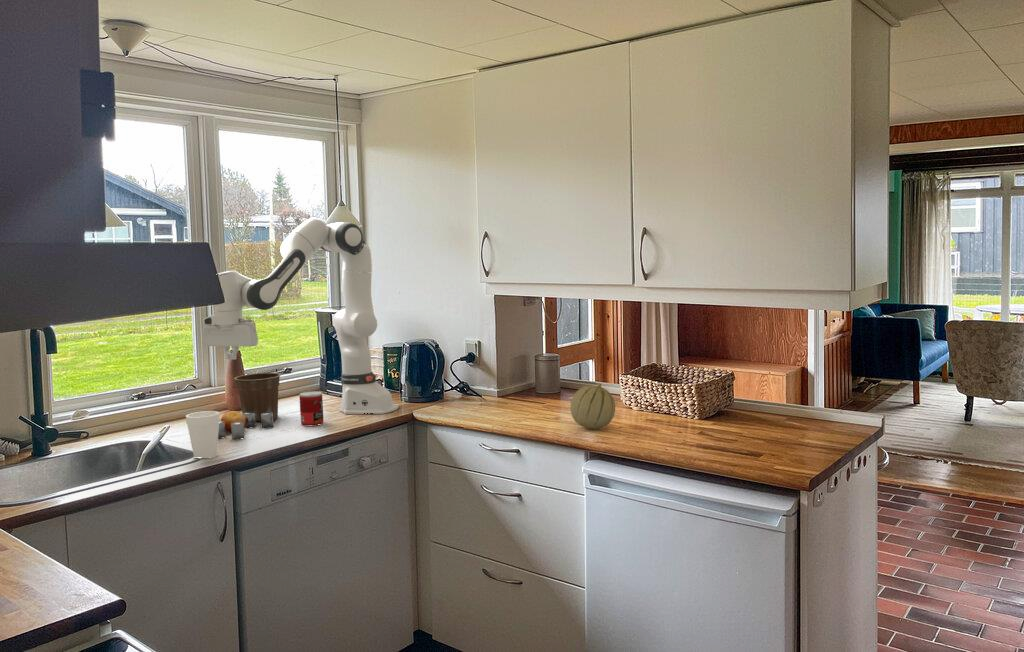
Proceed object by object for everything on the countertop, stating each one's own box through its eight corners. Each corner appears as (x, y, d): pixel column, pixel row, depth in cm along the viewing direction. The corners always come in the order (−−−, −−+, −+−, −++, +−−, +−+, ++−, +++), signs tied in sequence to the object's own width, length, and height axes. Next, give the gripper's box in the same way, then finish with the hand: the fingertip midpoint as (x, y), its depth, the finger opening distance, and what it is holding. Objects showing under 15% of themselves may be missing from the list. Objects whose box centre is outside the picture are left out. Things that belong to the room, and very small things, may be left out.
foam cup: (182, 460, 233) (179, 417, 232) (199, 452, 242) (196, 410, 241) (211, 460, 231) (209, 417, 230) (227, 452, 241) (225, 411, 239)
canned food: (318, 426, 273) (316, 395, 272) (296, 426, 275) (295, 395, 274) (327, 421, 281) (325, 391, 279) (306, 421, 282) (305, 391, 281)
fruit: (234, 423, 276) (239, 405, 272) (246, 437, 272) (251, 419, 269) (213, 427, 270) (218, 409, 266) (224, 441, 266) (230, 423, 262)
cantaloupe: (561, 429, 259) (560, 384, 258) (592, 421, 268) (591, 378, 267) (593, 436, 248) (593, 389, 246) (625, 428, 257) (624, 383, 256)
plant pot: (227, 422, 285) (224, 378, 283) (260, 413, 299) (257, 371, 297) (260, 425, 277) (257, 380, 276) (292, 416, 291) (290, 373, 290)
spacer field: (275, 426, 275) (275, 412, 275) (239, 439, 257) (238, 425, 256) (235, 424, 281) (234, 410, 280) (196, 437, 262) (195, 422, 261)
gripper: (260, 318, 265) (263, 358, 266) (210, 318, 271) (213, 357, 272) (248, 319, 259) (251, 361, 260) (198, 319, 265) (200, 360, 266)
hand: (231, 359), depth 266 cm, fingers closed
